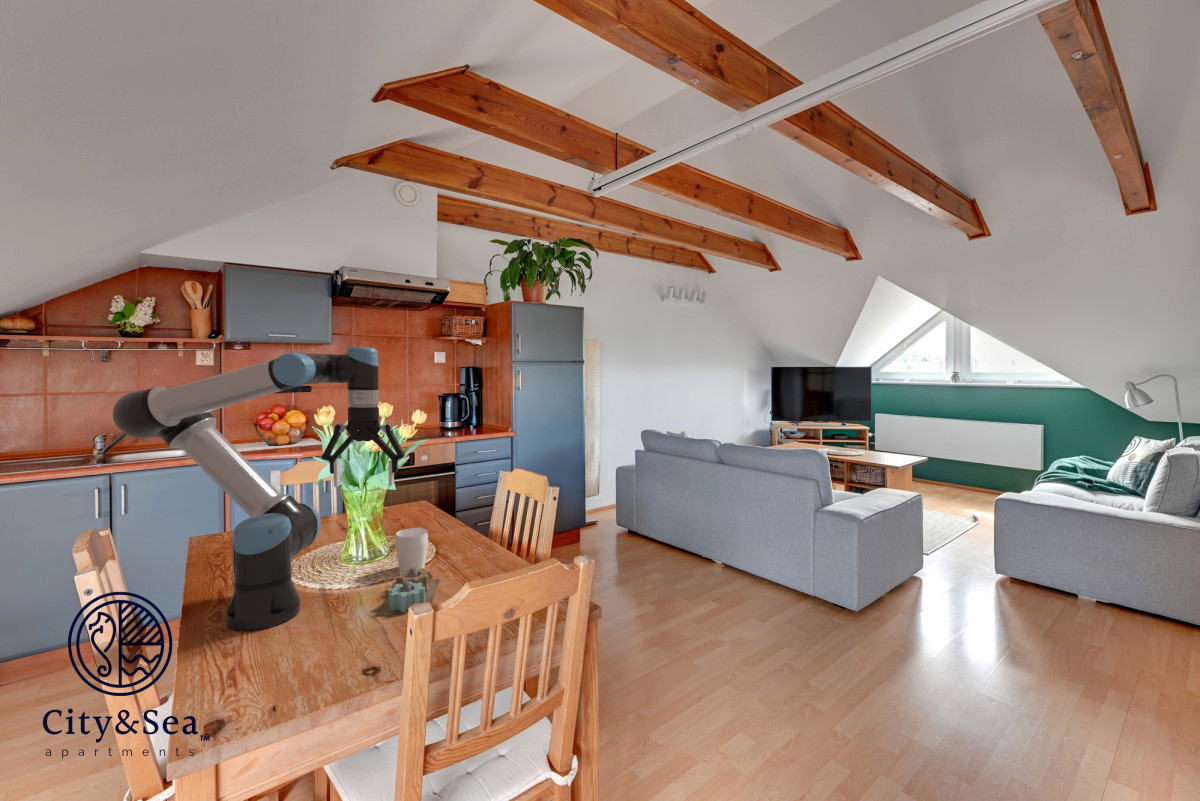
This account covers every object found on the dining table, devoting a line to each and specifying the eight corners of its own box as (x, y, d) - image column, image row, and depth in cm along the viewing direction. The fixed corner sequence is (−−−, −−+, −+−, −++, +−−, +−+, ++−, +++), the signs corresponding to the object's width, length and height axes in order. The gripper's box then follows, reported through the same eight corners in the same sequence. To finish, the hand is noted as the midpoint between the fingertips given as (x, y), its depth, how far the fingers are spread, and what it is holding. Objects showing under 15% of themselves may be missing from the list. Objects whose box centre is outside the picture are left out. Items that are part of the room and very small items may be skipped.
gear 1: (400, 598, 135) (399, 583, 135) (393, 586, 142) (393, 571, 142) (434, 591, 139) (434, 576, 139) (426, 579, 147) (425, 565, 146)
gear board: (376, 620, 126) (375, 593, 125) (394, 585, 145) (394, 562, 145) (428, 617, 128) (428, 590, 127) (439, 583, 147) (439, 560, 147)
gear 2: (392, 597, 135) (392, 582, 135) (427, 595, 137) (427, 580, 137) (384, 613, 127) (384, 597, 127) (421, 611, 128) (421, 595, 128)
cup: (417, 580, 149) (417, 538, 149) (389, 577, 151) (388, 536, 150) (434, 568, 158) (433, 529, 157) (406, 565, 160) (406, 526, 159)
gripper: (307, 406, 133) (308, 489, 135) (410, 407, 137) (410, 487, 139) (317, 404, 140) (319, 482, 142) (415, 405, 144) (415, 481, 146)
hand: (364, 485), depth 140 cm, fingers open, 13 cm apart
